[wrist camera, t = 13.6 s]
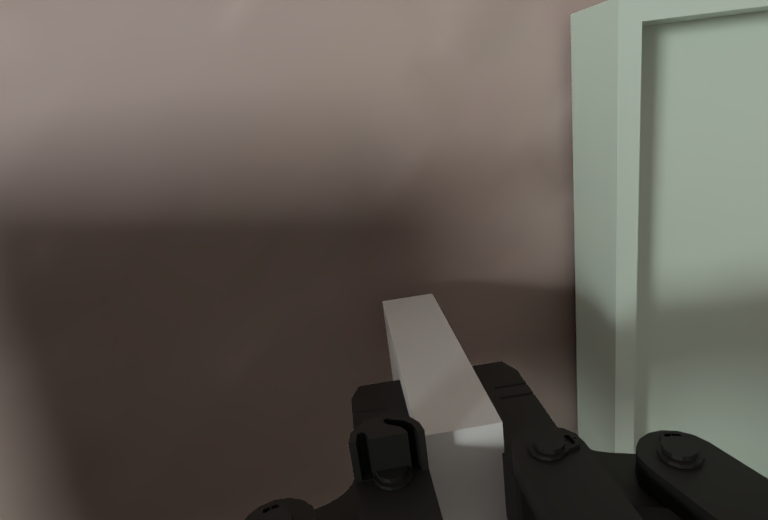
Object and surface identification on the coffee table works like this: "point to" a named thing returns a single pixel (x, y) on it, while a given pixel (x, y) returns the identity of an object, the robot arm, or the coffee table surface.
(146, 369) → the coffee table surface
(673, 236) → the tray
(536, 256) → the coffee table surface
